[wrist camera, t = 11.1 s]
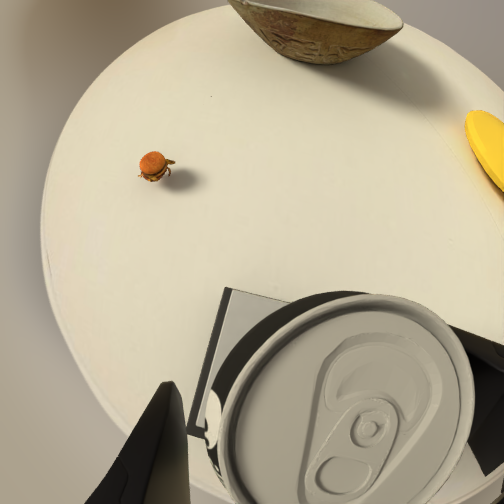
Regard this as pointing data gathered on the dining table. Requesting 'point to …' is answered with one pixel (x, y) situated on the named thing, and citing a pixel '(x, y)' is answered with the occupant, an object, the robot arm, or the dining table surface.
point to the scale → (226, 344)
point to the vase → (487, 143)
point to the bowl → (320, 27)
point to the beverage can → (341, 404)
